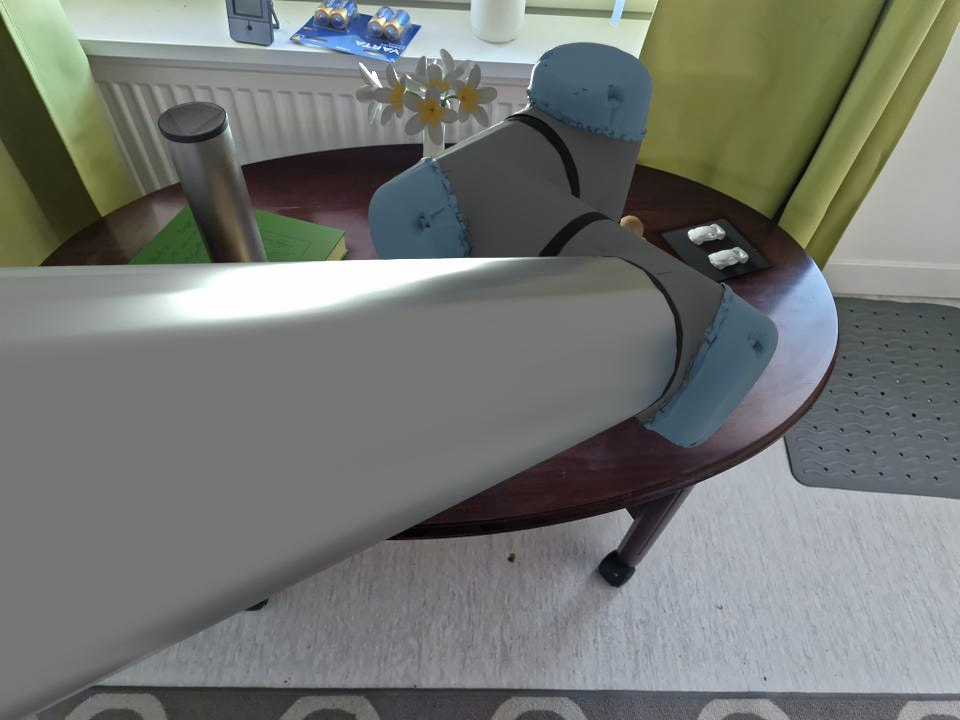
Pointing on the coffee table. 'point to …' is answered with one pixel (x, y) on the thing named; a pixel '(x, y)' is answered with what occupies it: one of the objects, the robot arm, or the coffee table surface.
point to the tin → (213, 181)
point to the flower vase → (429, 97)
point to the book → (277, 233)
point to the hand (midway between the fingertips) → (532, 424)
